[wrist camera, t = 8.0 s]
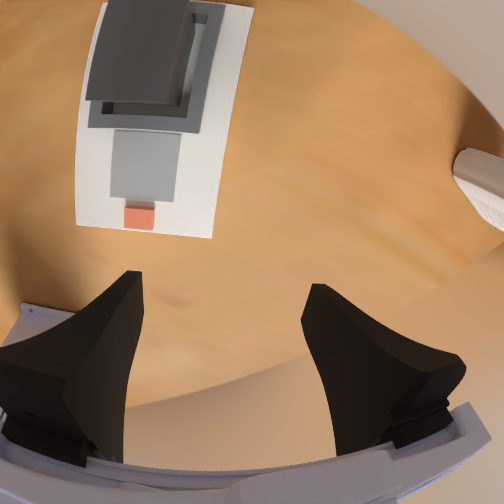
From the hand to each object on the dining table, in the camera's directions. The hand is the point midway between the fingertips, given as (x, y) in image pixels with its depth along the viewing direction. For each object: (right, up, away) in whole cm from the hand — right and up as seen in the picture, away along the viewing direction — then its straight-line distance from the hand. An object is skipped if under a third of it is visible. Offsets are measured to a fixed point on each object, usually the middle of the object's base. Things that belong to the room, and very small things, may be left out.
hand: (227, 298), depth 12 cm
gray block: (-5, +13, +2) cm, 14 cm away
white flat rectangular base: (-5, +11, +4) cm, 13 cm away
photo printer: (+24, +9, +10) cm, 28 cm away
